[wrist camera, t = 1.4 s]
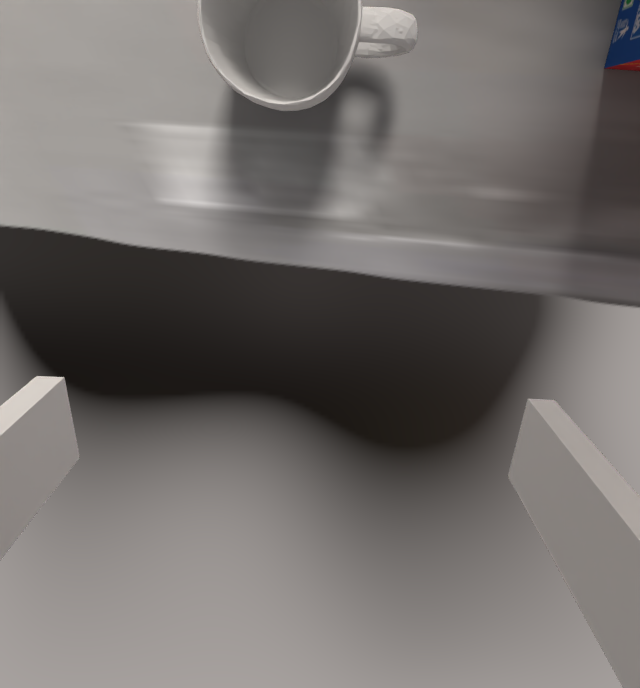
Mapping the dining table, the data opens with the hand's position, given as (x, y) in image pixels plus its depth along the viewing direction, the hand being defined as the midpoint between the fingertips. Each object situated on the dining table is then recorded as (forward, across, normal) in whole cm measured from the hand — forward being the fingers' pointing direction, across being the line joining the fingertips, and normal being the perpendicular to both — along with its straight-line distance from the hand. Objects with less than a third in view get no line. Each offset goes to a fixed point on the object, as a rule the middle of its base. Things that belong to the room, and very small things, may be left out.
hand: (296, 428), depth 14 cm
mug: (+29, 0, +14) cm, 32 cm away
